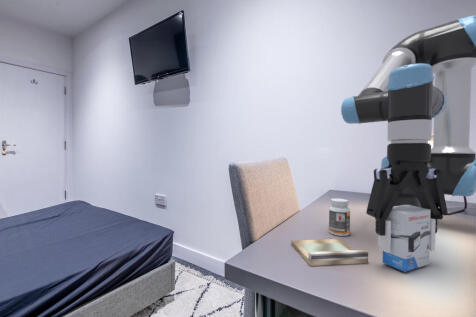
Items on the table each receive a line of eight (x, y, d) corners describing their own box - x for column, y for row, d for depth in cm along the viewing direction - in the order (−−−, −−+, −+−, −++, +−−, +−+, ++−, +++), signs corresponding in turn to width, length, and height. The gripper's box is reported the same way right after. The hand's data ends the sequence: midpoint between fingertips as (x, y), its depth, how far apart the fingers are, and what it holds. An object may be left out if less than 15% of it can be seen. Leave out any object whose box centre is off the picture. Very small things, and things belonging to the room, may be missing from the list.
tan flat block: (338, 242, 65) (338, 233, 65) (368, 263, 53) (368, 251, 52) (291, 244, 63) (291, 234, 63) (310, 266, 51) (310, 254, 51)
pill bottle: (352, 237, 69) (352, 202, 68) (330, 235, 70) (331, 201, 70) (347, 231, 74) (347, 198, 74) (327, 229, 75) (327, 197, 75)
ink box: (404, 272, 48) (405, 213, 47) (381, 262, 52) (382, 207, 52) (431, 264, 51) (432, 208, 51) (406, 255, 56) (407, 204, 55)
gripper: (438, 143, 56) (436, 240, 57) (348, 142, 53) (346, 244, 54) (474, 142, 48) (470, 254, 49) (371, 141, 46) (369, 259, 47)
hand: (405, 249), depth 52 cm, fingers closed on ink box, 9 cm apart
